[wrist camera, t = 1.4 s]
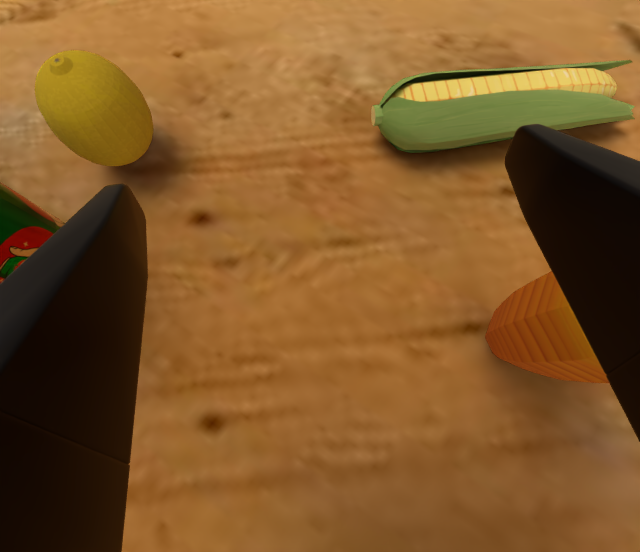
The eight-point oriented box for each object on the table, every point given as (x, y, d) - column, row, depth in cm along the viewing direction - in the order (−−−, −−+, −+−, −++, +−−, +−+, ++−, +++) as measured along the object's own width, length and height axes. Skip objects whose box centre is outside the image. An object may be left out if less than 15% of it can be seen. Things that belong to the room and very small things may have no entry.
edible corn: (361, 109, 28) (370, 58, 23) (617, 82, 29) (672, 28, 24) (374, 170, 26) (385, 128, 22) (642, 139, 27) (704, 93, 23)
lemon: (114, 202, 25) (26, 124, 18) (79, 144, 27) (-18, 47, 19) (185, 161, 26) (130, 71, 19) (148, 107, 27) (82, 1, 20)
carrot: (436, 338, 23) (637, 269, 9) (488, 286, 24) (747, 146, 10) (497, 400, 22) (836, 437, 8) (549, 343, 23) (937, 283, 9)
